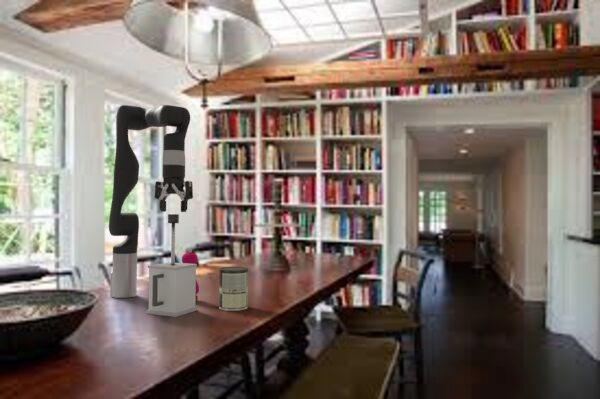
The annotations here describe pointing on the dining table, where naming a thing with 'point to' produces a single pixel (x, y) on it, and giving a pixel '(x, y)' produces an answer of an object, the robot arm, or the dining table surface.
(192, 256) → the pepper mill
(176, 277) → the white cabinet
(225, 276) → the coffee can
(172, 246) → the grey thin rod
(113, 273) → the robot arm
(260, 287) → the dining table surface
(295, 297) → the dining table surface
